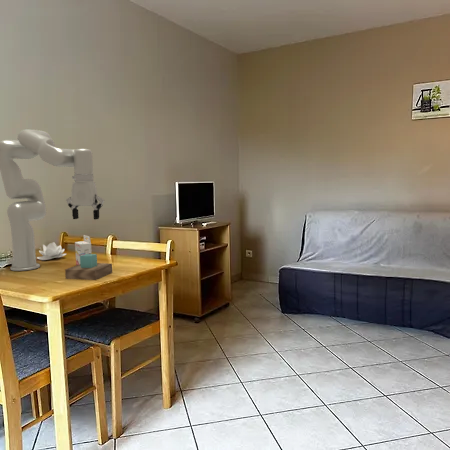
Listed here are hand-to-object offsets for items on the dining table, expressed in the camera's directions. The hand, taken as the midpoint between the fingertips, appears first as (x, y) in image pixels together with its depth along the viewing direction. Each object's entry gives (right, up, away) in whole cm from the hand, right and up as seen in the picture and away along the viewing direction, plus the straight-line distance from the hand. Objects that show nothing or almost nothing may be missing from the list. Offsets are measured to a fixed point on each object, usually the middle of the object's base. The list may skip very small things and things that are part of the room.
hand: (86, 219), depth 175 cm
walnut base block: (+1, -24, +3) cm, 25 cm away
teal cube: (+1, -20, +2) cm, 21 cm away
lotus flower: (-33, -21, +44) cm, 59 cm away
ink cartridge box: (-8, -23, +22) cm, 33 cm away
